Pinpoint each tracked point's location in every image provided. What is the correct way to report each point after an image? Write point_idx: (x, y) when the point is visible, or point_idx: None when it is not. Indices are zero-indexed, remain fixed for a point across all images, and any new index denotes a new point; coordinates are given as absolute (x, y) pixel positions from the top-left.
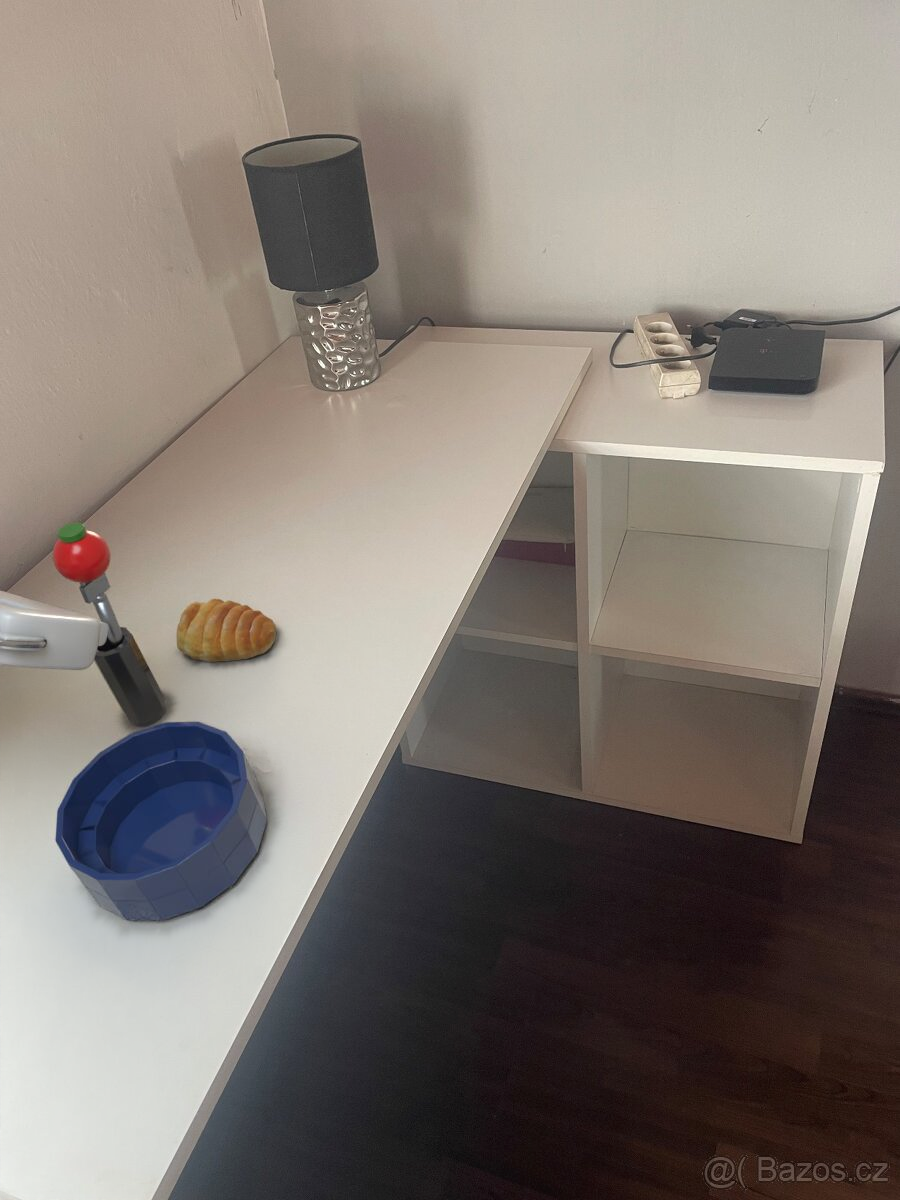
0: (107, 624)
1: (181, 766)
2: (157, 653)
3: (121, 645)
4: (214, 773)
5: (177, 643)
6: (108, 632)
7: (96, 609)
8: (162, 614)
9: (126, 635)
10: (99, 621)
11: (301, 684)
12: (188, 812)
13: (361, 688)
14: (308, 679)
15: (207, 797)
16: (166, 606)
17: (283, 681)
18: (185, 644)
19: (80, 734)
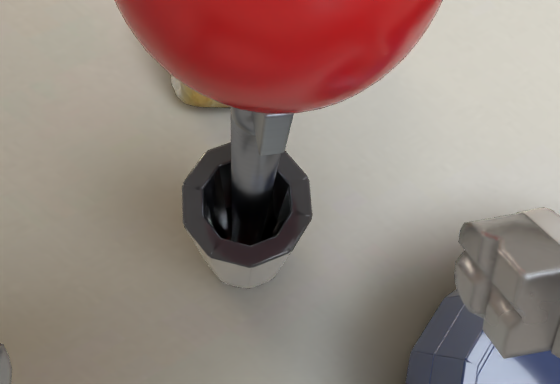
0: (543, 208)
1: None
2: (130, 130)
3: (298, 194)
4: None
5: (193, 96)
6: (262, 185)
7: (256, 150)
8: (47, 50)
9: None
10: (522, 217)
11: (447, 63)
12: (538, 376)
13: (538, 26)
14: (448, 49)
15: None
16: (36, 30)
17: (414, 71)
18: None
19: (161, 365)
